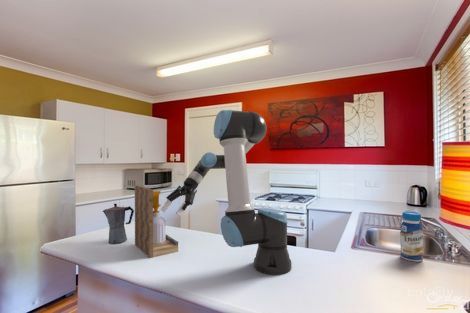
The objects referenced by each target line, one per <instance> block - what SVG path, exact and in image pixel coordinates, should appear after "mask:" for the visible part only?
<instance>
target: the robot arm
mask: <svg viewBox="0 0 470 313" xmlns="http://www.w3.org/2000/svg"><path fill="white" fill-rule="evenodd" d="M213 123H214V124H213V135H214V138H215V139H217V140H218V142H219V145H220V146H221V147H223V154H215V153H213V152H211V151H209V152H208V151H207V152H205V153H204V154H203V155H202V157H201V158H200V160H198V162H197V164H196V165H195V167H194V168H193V170H191V172H190V173H189V174H188V175H187V177H186V179H185V180H184V181H183V186H181V185H178V186H177V188H176V189H175V190H173V191H171V193H170V194H168V195H167V196H166V197H165V198H166V201H165V202H164V204H163V206H162V207H161V208H160V211H162V212H163V213H166V211H168V209H169V208H170V206H171V205H172V203H173V202H174V201H175V200H176V199H178V198H179V197H182V196H185V198H184V202H183V203H182V204H181V206H179V207H178V210H177V211H175V214H176V215H177V216H178V217H181V216H182V215H183V213H184V212H185V210H186V209H187V208H188V206H192V205H193V203H194V201H195V197H196V194H197V192H198V190H197V189H198V187H199V185H200V183H201V182H203V181H202V180H203V179H204V178H205V177H206V175H207V174H208V173H209V171H210V170H215V169H217V170H218V169H220V170H222V169H225V180H226V192H227V203H228V204H227V205H228V206H227V208H226V209H225V210H224V213H225V215H223V216H222V217H221V219H220V230H221V235H222V237H223V240H224V241H225V243H226V245H228V246H229V247H231V248H242V247H246V246H253V245H257V250H256V253H255V257H254V259H253V268H254V269H255V270H256V271H258V272H260V273H262V274H266V275H283V274H286V273H289V272H291V270H292V267H293V266H292V259H291V258H290V254H289V250H288V216H287V213H286V212H285V211H284V210H280V209H276V208H269V207H260V208H258V209H257V212H256V209H255V208H254V207H253V206H252V205H251V199H250V190H249V188H250V187H249V178H248V169H247V168H248V166H247V158H246V156H247V155H246V154H247V153H248V152H249V151H250V150H251V149H252V148H253V147H254V145H257V144H259V143H261V141H262V140H263V139H264V138H265V136H266V134H267V129H268V128H267V123H266V120H265V118H264V117H263V116H262V115H261V114H259V113H258V112H255V111H245V110H244V111H243V110H232V109H228V110H226V109H222V110H220V111H219V112H218V113H217V114H216V117H215V120H214V122H213Z"/></svg>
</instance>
